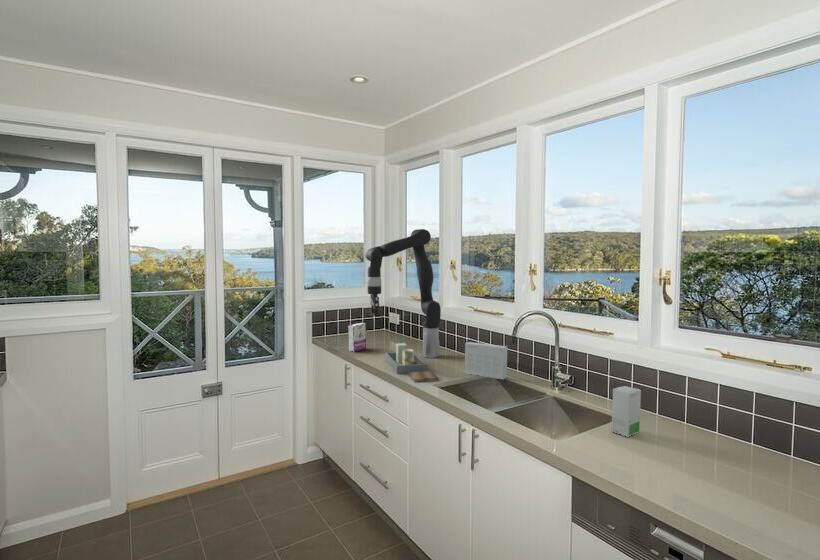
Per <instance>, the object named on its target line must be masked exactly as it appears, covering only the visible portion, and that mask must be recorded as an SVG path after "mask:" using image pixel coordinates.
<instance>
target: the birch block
mask: <svg viewBox="0 0 820 560" xmlns="http://www.w3.org/2000/svg"><path fill="white" fill-rule="evenodd" d="M414 354H415V351H414V350H413V349H412V348H407V349H402V363H401V365H414V364H415V362H414Z"/></svg>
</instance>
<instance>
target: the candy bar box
mask: <svg viewBox="0 0 820 560" xmlns="http://www.w3.org/2000/svg"><path fill="white" fill-rule="evenodd" d="M347 326H348V330H347V331H348V332H347V333H348V351H349V352H350V351H353V352H352V353H356V352H355V351H357V352H361V351H364V350H366V349H367V328H366V327H367V324H366V323H364V322H359V323H353V324H349V325H347ZM360 350H361V351H360Z"/></svg>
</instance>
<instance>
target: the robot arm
mask: <svg viewBox="0 0 820 560" xmlns="http://www.w3.org/2000/svg"><path fill="white" fill-rule="evenodd" d="M431 239H432V234H431V233H430V231H428V230H427V229H423V228H420V229H414V230H412V232H411V233H410V236H407V237H403V238H401V239H396V240H392V241H390V242H387V243H384V244H381V245H378V246H375V247H371V248H369V249H367V250H366V252H365V259H366V260H367V261H368V262H370V264H369V266H368V267H367V281H366V282H367V284H366V285H367V294H368V295H370V307H371V314H373V316H374V317H375V316H376V317H378V316H379V308H380V297H379V296H378V295H380V294H382V278H381V277H382V275H381V268H382V264H383V263H382V262H383V258H385V257H390V256H393V255H396V254H398V253H400V252H403V251H405V250H407V249H411V248H412V250H413V255H414V263H415V266H416V267H415V268H416V275H417V280H418V287H419V293H420V307H421V312H422V313H423V314H424V315H426V317H425V320H424V322H423V323H422V324H423V325H422V356H424V357H423V358H427V357H428V358H427V359H429V358H430V359H431V358H435V359H436V358H438V357H440V351H441V350H440V345H441V343H440V342H441V341H440V339H439V336H440V335H439V334H440V332H439V330H440V326H439V325H440V324H441V315H442V313H441V310H442V309H441V304H440V302H438V301H436V300H434V297H433V292H432V290H433V289H432V288H433V284H434V271H433V265H432V263H431V261H430V259H429V258H428V255H427V254H426V248H425V246H426V245H427V244H429V242H430V241H431Z"/></svg>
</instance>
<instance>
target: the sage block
mask: <svg viewBox="0 0 820 560" xmlns="http://www.w3.org/2000/svg"><path fill="white" fill-rule="evenodd" d="M407 347H408V344H406V343H404V342H402V343H396V344H395V352H396V359H395V362H396V361H397V362H398V363H397V362H396V363H397V364H402V349H408V348H407Z"/></svg>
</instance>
